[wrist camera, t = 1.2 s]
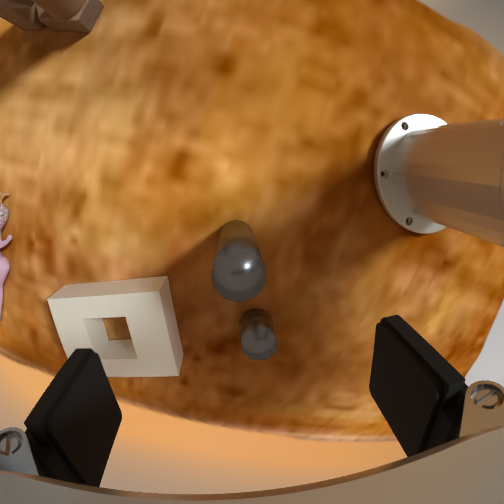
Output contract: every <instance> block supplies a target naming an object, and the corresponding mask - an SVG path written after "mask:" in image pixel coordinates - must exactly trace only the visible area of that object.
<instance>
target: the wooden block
mask: <svg viewBox="0 0 504 504" xmlns="http://www.w3.org/2000/svg"><path fill="white" fill-rule="evenodd" d="M103 7H104V6H103V4H102V3H101V2H100V1H99V0H0V17H1V18H3V19H5V20H7V21H8V22H10V23H12V24H14V25H16V26H17V27H19V28H21V29H23V30H42V29H43V28H44V26H45V25H46V26H48V27H49V28H51V29H52V30H60V31H76V32H90V31H91V30H92V28H93V26H94V24H95V22H96V20H97V18H98V17H99V15H100V13H101V11H102V9H103Z"/></svg>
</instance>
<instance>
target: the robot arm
mask: <svg viewBox="0 0 504 504" xmlns="http://www.w3.org/2000/svg"><path fill="white" fill-rule="evenodd" d="M401 125H402V127H401ZM381 172H382V173H383V175H382V176H381ZM374 180H375V186H376V191H377V193H378V196H379V199H380V202H381V203H382V205H383V207H384V209H385V211H386V212H387V213H388V214H389V216H390V217H391V218H392V219H393V220H394V221H395V222H396V223H398V224H399V225H400V226H402V227H404V228H406V229H408V230H410V231H413V232H416V233H422V234H429V233H435V232H438V231H441V230H443V229H444V228H446V227H449V228H452V229H454V230H457V231H460V232H463V233H466V234H469V235H471V236H474V237H477V238H480V239H482V240H485V241H488V242H491V243H493V244H496V245H498V246H501V247H504V118H503V119H491V120H480V121H471V122H462V123H454V124H447V123H446V122H444V121H443V120H442V119H440V118H438V117H436V116H434V115H429V114H425V113H416V114H411V115H407V116H404V117H402V118H400V119H398V120H396V121H395V122H394V123H392V124H391V125H390V126H389V127H388V129H387V130H386V131H385V132H384V134H383V136H382V137H381V139H380V141H379V143H378V147H377V150H376V153H375V159H374ZM406 219H407V220H406ZM464 382H465V378H464V377H463V376H462V375H461V374H460V373H459V372H458V371H457V370H456V369H455V368H454V367H453V366H452V365H451V364H449V363H448V362H447V361H446V360H445V359H444V358H443V357H442V356H441V355H440V354H439V353H438V352H437V351H436V350H435V349H434V348H433V347H432V346H431V345H430V344H429V343H428V342H427V341H426V340H425V339H424V338H423V337H422V336H420V335H419V334H418V333H417V332H416V331H415V330H414V329H413V328H412V327H411V326H410V325H409V324H408V323H407V322H406V321H405V320H403V319H402V318H401V317H400V316H399V315H394V316H389V317H384V318H382V319H381V321H380V323H378V324H377V325H376V332H375V343H374V352H373V361H372V369H371V377H370V384H369V389H370V393H371V395H372V397H373V399H374V400H375V402H376V404H377V405H378V407H379V409H380V411H381V412H382V414H383V416H384V417H385V419H386V421H387V422H388V424H389V426H390V427H391V429H392V431H393V433H394V434H395V436H396V438H397V439H398V441H399V443H400V445H401V446H402V448H403V450H404V452H405V453H406V455H407V458H404V459H401V460H398V461H395V462H392V463H389V464H386V465H383V466H379V467H377V468H373V469H369V470H366V471H363V472H359V473H355V474H351V475H347V476H343V477H339V478H334V479H330V480H326V481H321V482H316V483H310V484H305V485H299V486H293V487H286V488H279V489H272V490H263V491H254V492H242V493H227V494H192V495H191V494H158V493H142V492H132V491H122V490H114V489H107V488H100V487H99V486H100V483H101V479H102V476H103V473H104V470H105V467H106V464H107V461H108V458H109V455H110V452H111V449H112V446H113V443H114V440H115V437H116V434H117V431H118V428H119V426H120V423H121V420H122V413H121V410H120V408H119V405H118V403H117V401H116V398H115V396H114V393H113V391H112V388H111V386H110V383H109V381H108V378H107V376H106V373H105V370H104V368H103V365H102V362H101V360H100V357H99V355H98V353H96V352H94V351H93V349H91V348H77V349H75V350H74V352H73V353H72V354H71V356H70V357H69V358H68V360H67V361H66V362H65V364H64V365H63V366H62V368H61V369H60V371H59V372H58V373H57V375H56V376H55V378H54V379H53V380H52V382H51V383H50V385H49V386H48V388H47V389H46V390H45V392H44V393H43V395H42V396H41V398H40V399H39V401H38V402H37V404H36V405H35V407H34V408H33V410H32V411H31V413H30V414H29V416H28V417H27V419H26V420H25V422H24V424H25V425H26V427H27V430H26V431H25V432H24V431H23V430H22V429H19V428H16V427H10V428H6V429H4V430H1V431H0V504H504V387H502V386H501V385H500V384H498V383H495V382H492V381H478V382H475V383H473V384H471V385H470V386H469V387H468V386H467V385H466V384H465V383H464Z"/></svg>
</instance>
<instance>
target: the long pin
mask: <svg viewBox="0 0 504 504" xmlns="http://www.w3.org/2000/svg"><path fill="white" fill-rule="evenodd" d="M212 281H213V284H214V287H215V289H216V290H217V291H218V293H219V294H220V295H222V296H223V297H225V298H226V299H229V300H232V301H246V300H249V299H251V298H253V297H255V296H256V295H257V294H258V293H259V292H260V291H261V290H262V288H263V287H264V284H265V281H266V271H265V267H264V264H263V261H262V258H261V255H260V252H259V249H258V246H257V243H256V240H255V237H254V234H253V232H252V229H251V228H250V226H249V225H248V224H246V223H245V222H242V221H238V220H234V221H230V222H228V223H226V224H225V225H224V226H223V227H222V228H221V230H220V233H219V238H218V243H217V249H216V254H215V260H214V266H213V271H212Z"/></svg>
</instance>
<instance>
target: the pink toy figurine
mask: <svg viewBox="0 0 504 504" xmlns="http://www.w3.org/2000/svg"><path fill="white" fill-rule="evenodd" d="M0 194H1V195H2V197H1V199H0V248H3V247H4V246H6V245H7V244H8V243H9V242H10V241H11V239H12V235H8V237H7V239H6V240H4V241H2V235H1V231H2V229H3V227H4V225H5V224H6V222H7V220H8V218H9V210H8V208H7V207H6V206H5V205H3V203H2V199H3V198H4V197H5V196H10V194H8V193H1V192H0ZM9 269H10V263H9V261H8V259H7V258H6V257H4V256H2V254H1V252H0V320H1V308H2V301H3V283H4V281H5V279H6V276H7V274H8V271H9Z"/></svg>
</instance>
